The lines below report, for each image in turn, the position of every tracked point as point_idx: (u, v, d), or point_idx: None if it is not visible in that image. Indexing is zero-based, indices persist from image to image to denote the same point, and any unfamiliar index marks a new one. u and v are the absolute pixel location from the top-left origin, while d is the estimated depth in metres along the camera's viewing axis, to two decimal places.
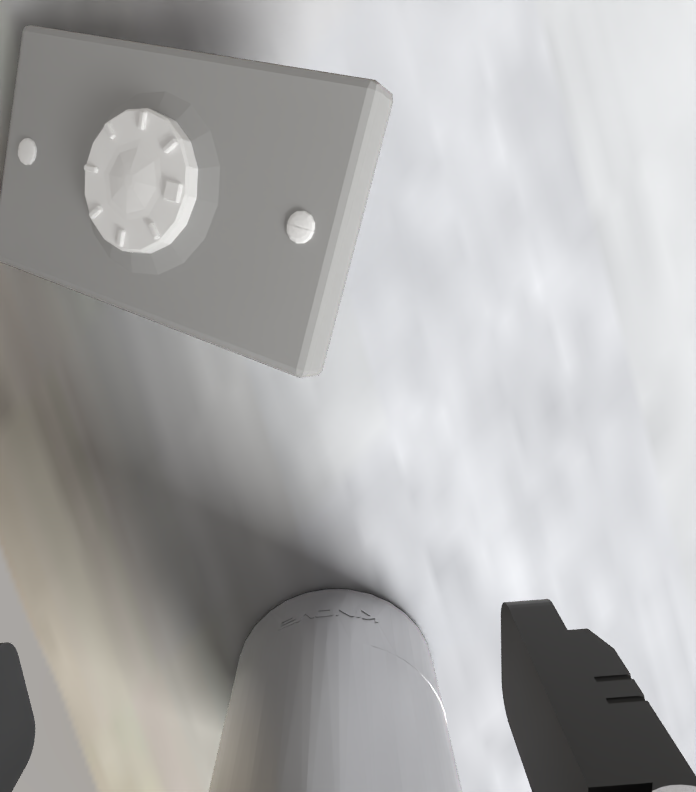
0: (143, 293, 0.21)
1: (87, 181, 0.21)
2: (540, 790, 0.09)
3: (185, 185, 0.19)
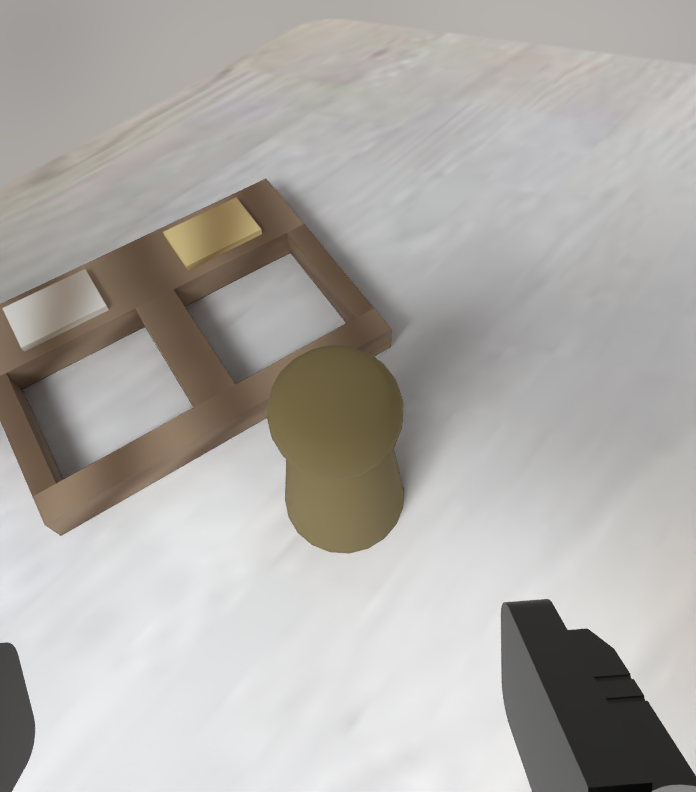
0: None
1: None
2: (540, 790, 0.09)
3: None
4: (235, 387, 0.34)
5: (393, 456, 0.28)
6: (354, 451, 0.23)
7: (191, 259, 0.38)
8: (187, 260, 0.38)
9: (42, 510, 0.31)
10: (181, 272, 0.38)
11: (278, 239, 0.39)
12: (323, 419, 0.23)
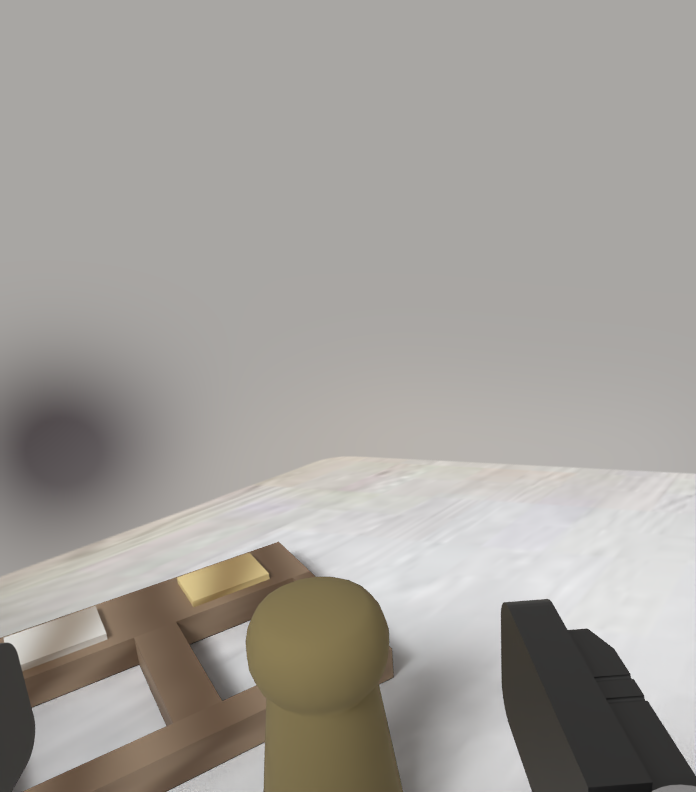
0: None
1: None
2: (540, 790, 0.09)
3: None
4: (221, 703, 0.31)
5: (388, 734, 0.25)
6: (333, 654, 0.21)
7: (198, 596, 0.39)
8: (194, 597, 0.39)
9: None
10: (186, 608, 0.39)
11: (284, 583, 0.41)
12: (301, 622, 0.22)
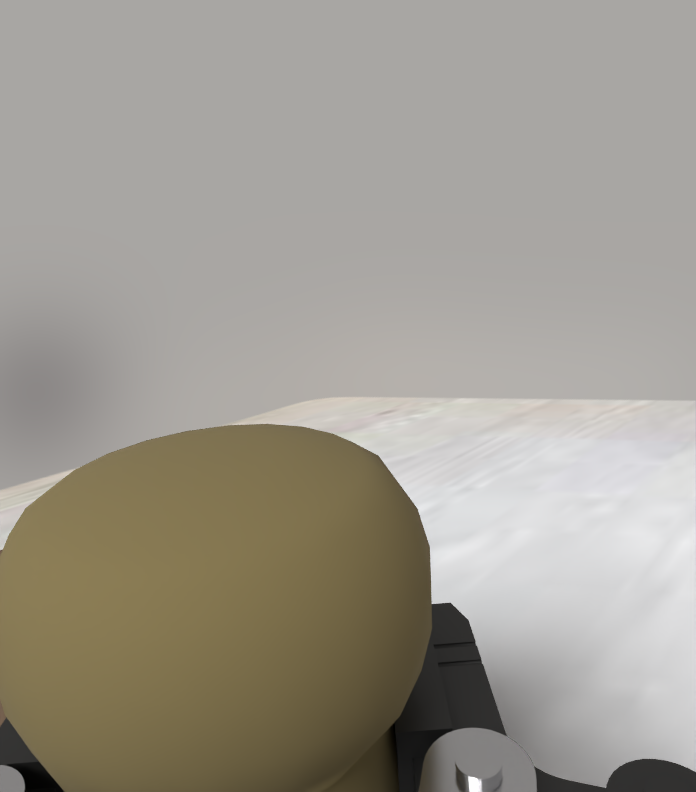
0: None
1: None
2: None
3: None
4: None
5: None
6: (241, 607, 0.06)
7: None
8: None
9: None
10: None
11: None
12: (145, 507, 0.07)
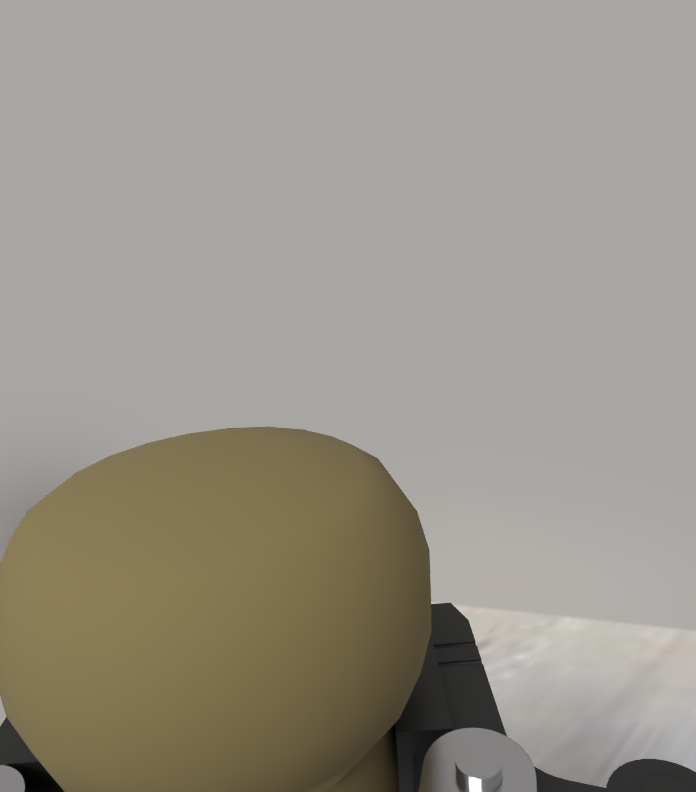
0: None
1: None
2: None
3: None
4: None
5: None
6: (240, 610, 0.06)
7: None
8: None
9: None
10: None
11: None
12: (146, 509, 0.07)
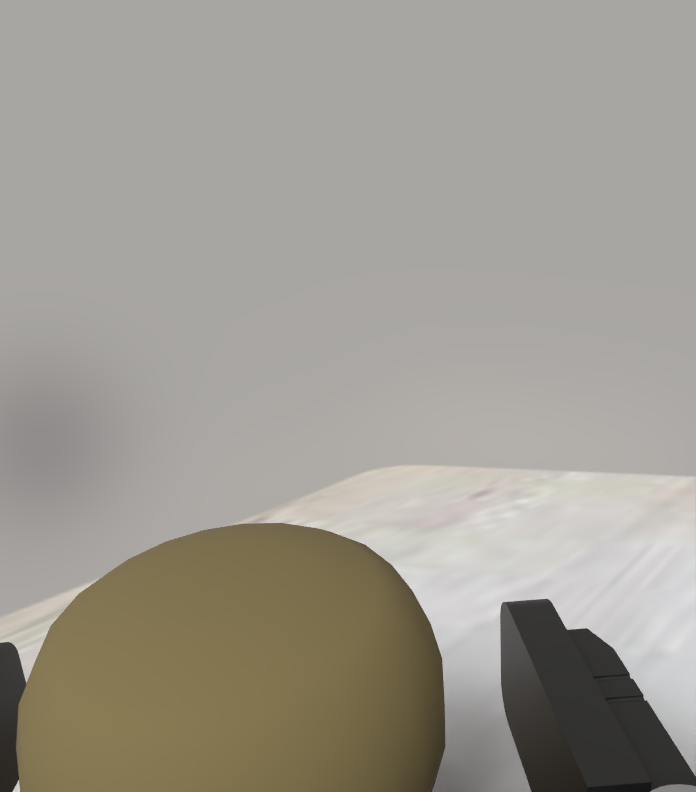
0: None
1: None
2: (539, 789, 0.09)
3: None
4: None
5: None
6: (265, 761, 0.06)
7: None
8: None
9: None
10: None
11: None
12: (171, 644, 0.07)
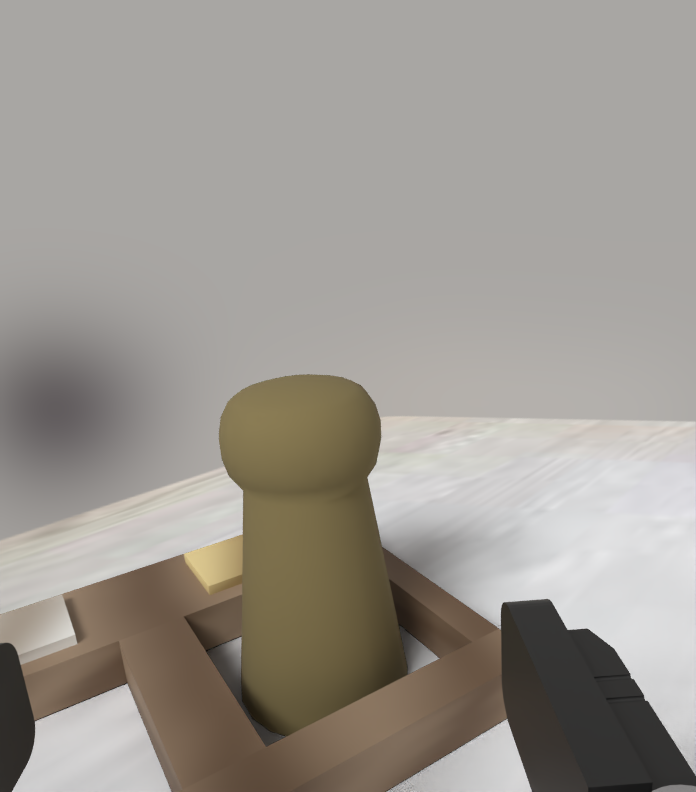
0: None
1: None
2: (540, 790, 0.09)
3: None
4: (265, 752, 0.18)
5: (381, 549, 0.22)
6: (315, 421, 0.18)
7: (217, 578, 0.26)
8: (211, 580, 0.26)
9: None
10: (199, 596, 0.26)
11: None
12: (280, 395, 0.19)
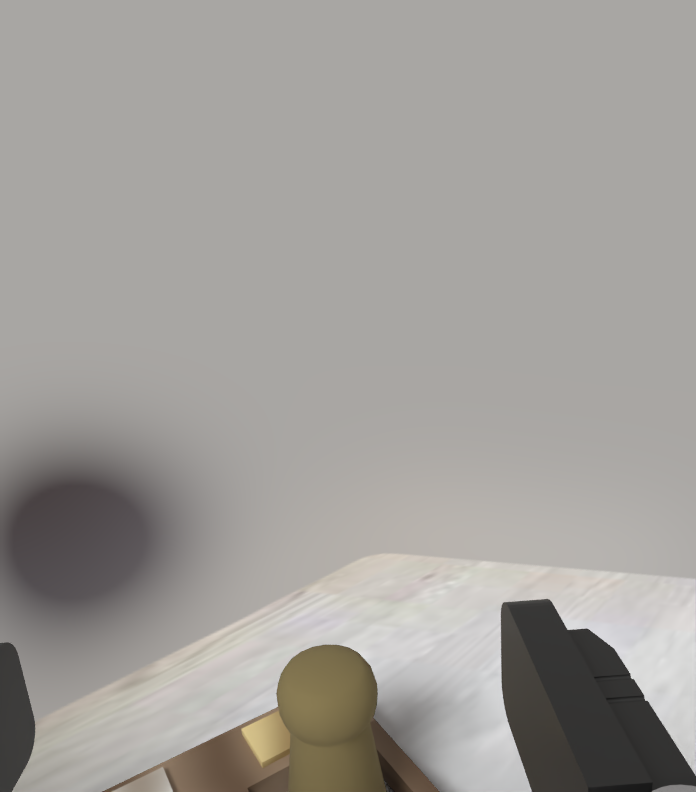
0: None
1: None
2: (540, 790, 0.09)
3: None
4: None
5: (377, 759, 0.34)
6: (338, 705, 0.31)
7: (267, 755, 0.39)
8: (263, 756, 0.39)
9: None
10: (255, 769, 0.38)
11: None
12: (316, 682, 0.32)
